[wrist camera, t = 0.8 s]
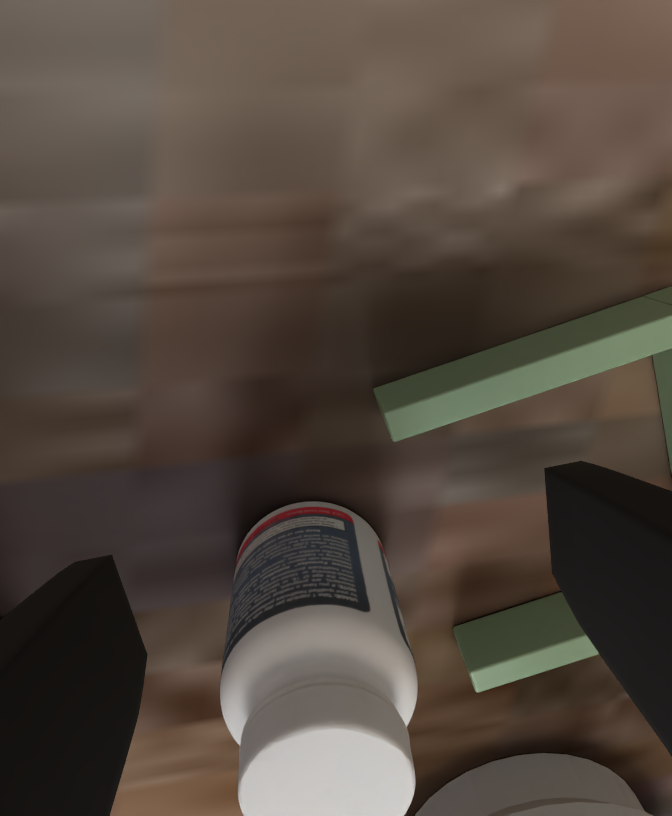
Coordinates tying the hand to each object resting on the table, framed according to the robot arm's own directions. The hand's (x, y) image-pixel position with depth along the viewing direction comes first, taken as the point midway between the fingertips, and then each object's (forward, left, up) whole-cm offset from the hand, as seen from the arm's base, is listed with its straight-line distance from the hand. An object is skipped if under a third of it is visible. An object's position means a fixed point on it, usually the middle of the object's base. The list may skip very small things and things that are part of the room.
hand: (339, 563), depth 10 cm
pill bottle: (-6, -3, -10) cm, 12 cm away
